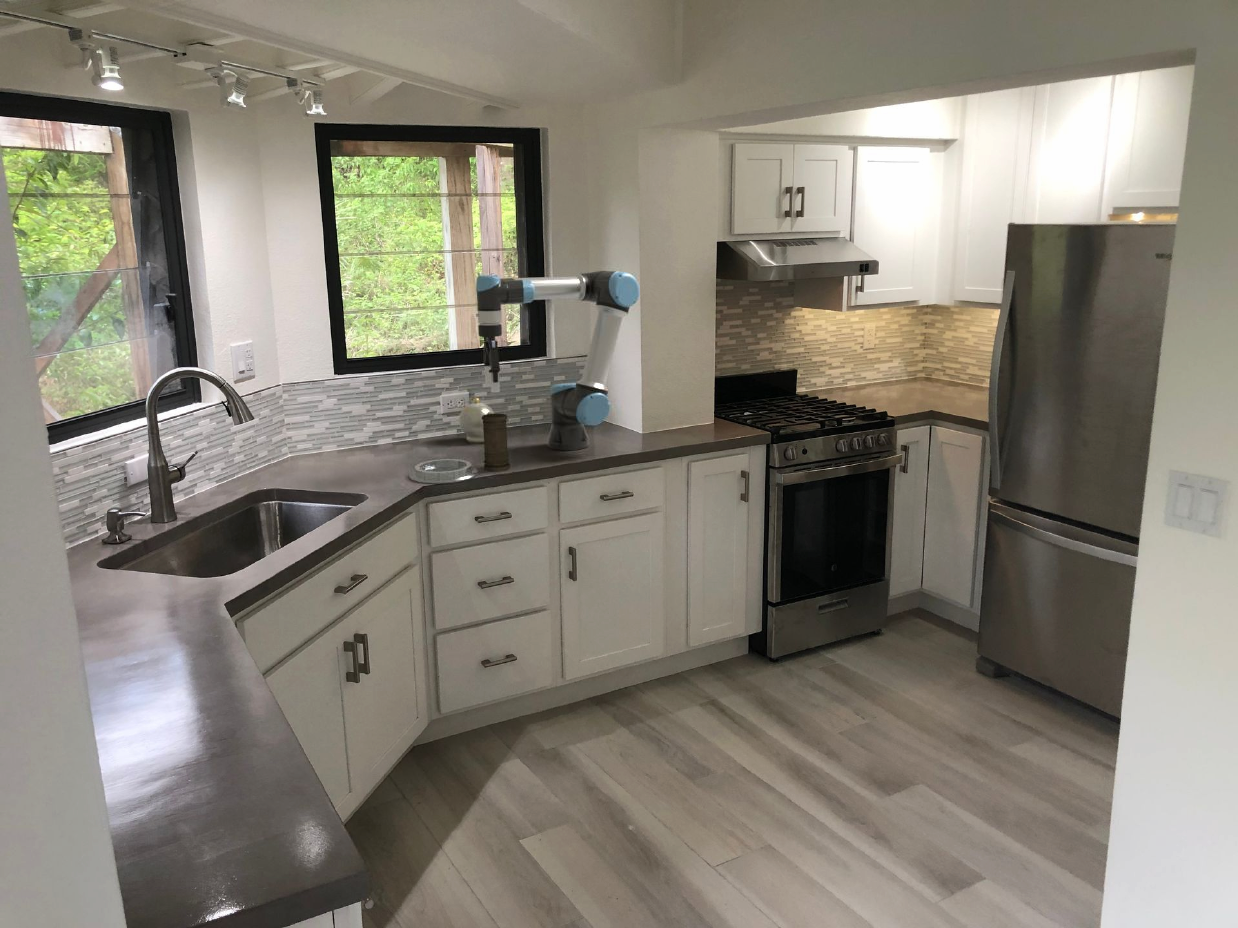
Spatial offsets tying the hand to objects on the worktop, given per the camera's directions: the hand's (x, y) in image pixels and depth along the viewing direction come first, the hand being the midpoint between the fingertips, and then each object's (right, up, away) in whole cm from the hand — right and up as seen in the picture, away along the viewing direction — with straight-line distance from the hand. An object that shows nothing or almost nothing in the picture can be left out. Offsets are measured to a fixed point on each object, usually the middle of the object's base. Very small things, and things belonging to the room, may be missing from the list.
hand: (492, 389), depth 318 cm
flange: (-16, -28, -1) cm, 32 cm away
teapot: (-10, -16, +46) cm, 50 cm away
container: (+1, -26, +6) cm, 27 cm away
